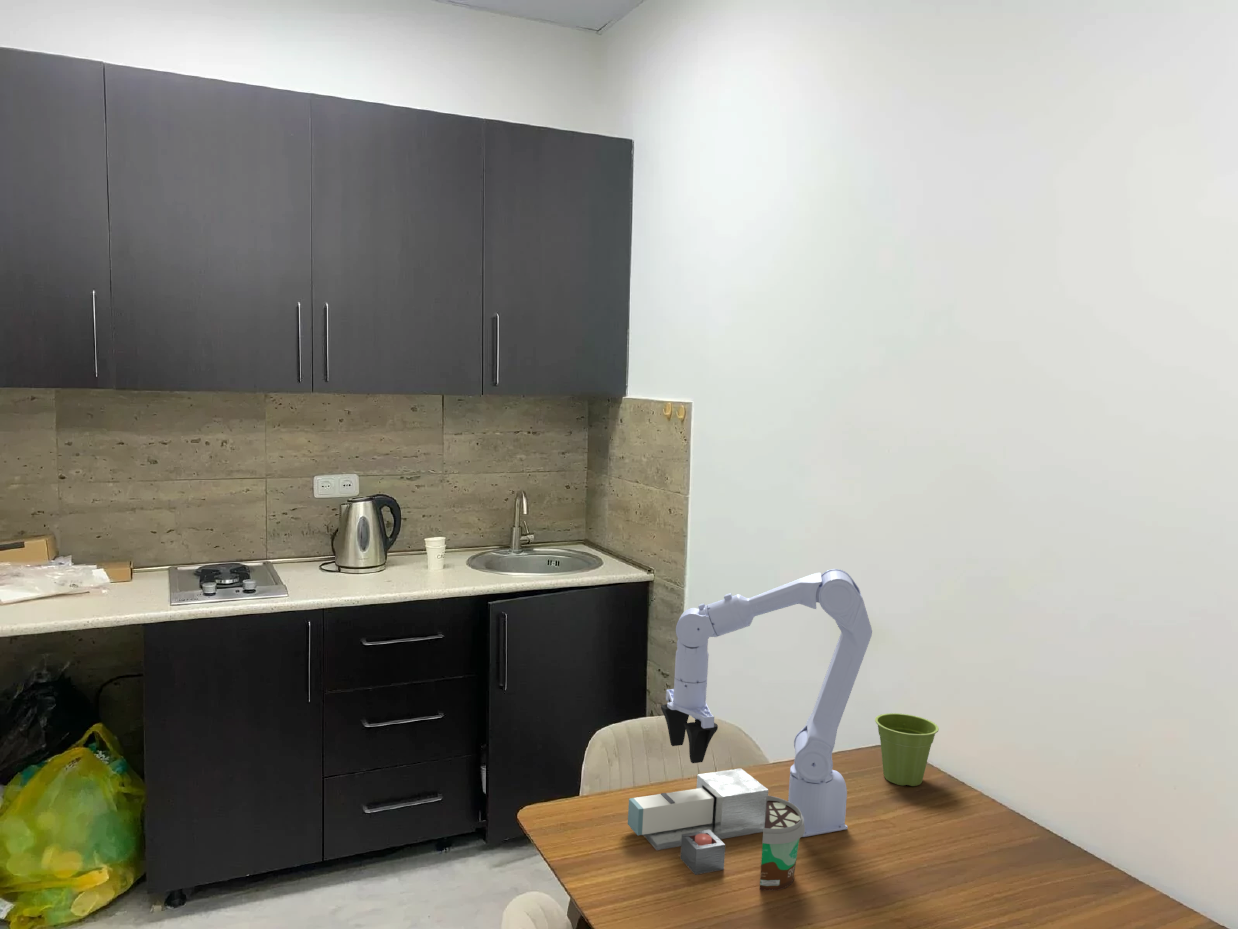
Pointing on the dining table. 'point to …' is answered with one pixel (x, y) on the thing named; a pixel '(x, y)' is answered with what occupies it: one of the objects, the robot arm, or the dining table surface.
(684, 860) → the plunger collar
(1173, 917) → the dining table surface
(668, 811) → the cartridge
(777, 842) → the food container
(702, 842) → the plunger
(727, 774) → the housing
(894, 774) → the plant pot
